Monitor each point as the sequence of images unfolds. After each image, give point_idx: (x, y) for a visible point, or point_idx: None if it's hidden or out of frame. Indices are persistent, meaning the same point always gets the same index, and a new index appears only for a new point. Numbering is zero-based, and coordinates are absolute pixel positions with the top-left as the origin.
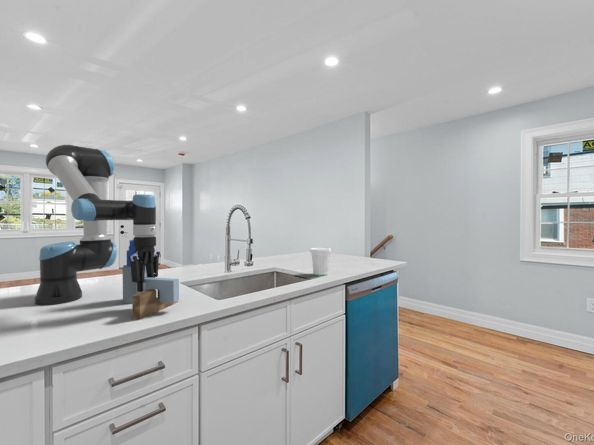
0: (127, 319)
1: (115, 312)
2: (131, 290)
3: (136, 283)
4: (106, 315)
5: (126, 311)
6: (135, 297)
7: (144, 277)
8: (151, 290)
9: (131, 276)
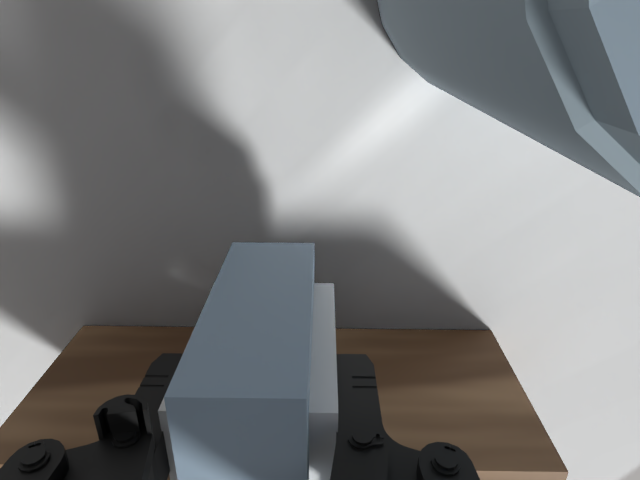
0: (60, 302)
1: (124, 92)
2: (404, 24)
3: (186, 353)
4: (37, 80)
5: (180, 166)
6: None
7: (281, 455)
8: None
9: (461, 23)
